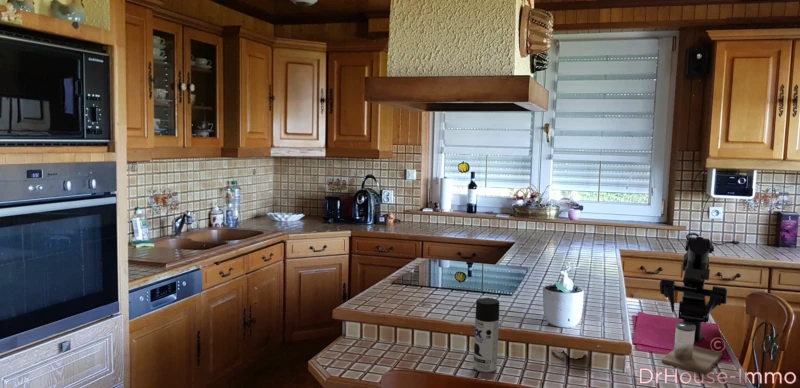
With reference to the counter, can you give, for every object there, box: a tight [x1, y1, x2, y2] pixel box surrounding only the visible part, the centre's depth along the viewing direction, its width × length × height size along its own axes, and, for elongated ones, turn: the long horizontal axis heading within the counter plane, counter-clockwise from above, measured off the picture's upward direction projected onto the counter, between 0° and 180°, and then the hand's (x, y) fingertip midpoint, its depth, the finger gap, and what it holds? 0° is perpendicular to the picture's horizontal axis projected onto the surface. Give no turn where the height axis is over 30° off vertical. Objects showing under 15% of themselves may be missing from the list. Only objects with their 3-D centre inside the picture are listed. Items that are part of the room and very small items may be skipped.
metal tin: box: [673, 321, 696, 361], centre depth 182 cm, size 5×5×10 cm
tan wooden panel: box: [661, 345, 723, 375], centre depth 184 cm, size 18×12×1 cm, turn 139°
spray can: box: [472, 297, 500, 374], centre depth 173 cm, size 7×7×20 cm
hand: (689, 314), depth 186 cm, fingers open, 9 cm apart
